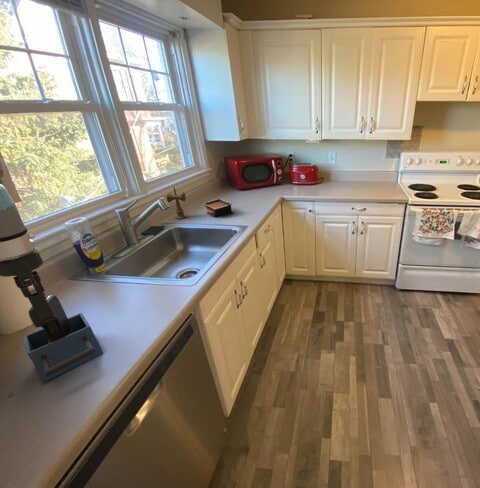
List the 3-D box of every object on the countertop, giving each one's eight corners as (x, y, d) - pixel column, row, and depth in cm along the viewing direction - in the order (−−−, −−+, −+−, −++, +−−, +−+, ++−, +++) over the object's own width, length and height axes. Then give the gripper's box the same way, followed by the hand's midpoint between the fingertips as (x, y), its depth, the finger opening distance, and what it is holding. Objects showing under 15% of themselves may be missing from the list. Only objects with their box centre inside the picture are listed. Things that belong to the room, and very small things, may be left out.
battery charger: (55, 330, 75) (36, 295, 71) (73, 326, 77) (55, 292, 72) (43, 348, 69) (22, 311, 65) (62, 344, 71) (43, 307, 66)
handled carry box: (39, 362, 75) (23, 336, 71) (93, 337, 83) (81, 312, 79) (50, 400, 64) (31, 371, 60) (111, 366, 72) (98, 339, 68)
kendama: (174, 217, 176) (166, 185, 167) (190, 216, 178) (183, 185, 169) (171, 220, 171) (163, 188, 162) (188, 219, 172) (180, 187, 164)
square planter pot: (214, 222, 173) (213, 207, 168) (202, 211, 183) (201, 197, 178) (235, 218, 182) (235, 204, 177) (223, 208, 192) (223, 194, 188)
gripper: (44, 262, 59) (84, 342, 69) (29, 235, 71) (65, 307, 81) (-8, 277, 54) (44, 361, 64) (-15, 245, 65) (29, 321, 76)
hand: (55, 331), depth 72 cm, fingers open, 8 cm apart
